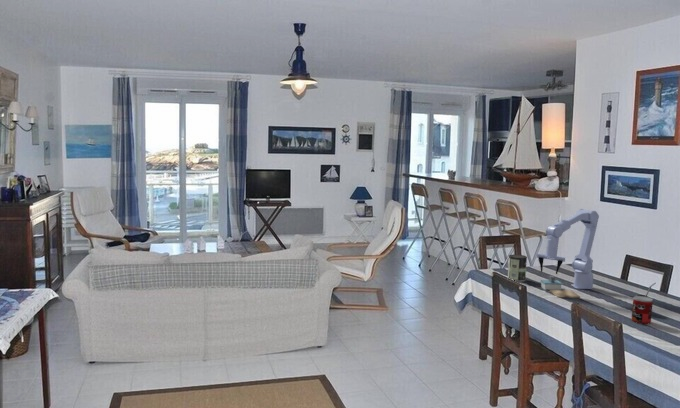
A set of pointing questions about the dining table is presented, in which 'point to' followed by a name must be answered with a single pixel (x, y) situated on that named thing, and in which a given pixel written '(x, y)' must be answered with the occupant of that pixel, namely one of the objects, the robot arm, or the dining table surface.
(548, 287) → the box
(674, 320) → the dining table surface
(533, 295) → the dining table surface
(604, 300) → the dining table surface
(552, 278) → the lid
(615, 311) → the dining table surface
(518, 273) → the coffee can
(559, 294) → the mat
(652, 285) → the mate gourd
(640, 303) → the canned food
